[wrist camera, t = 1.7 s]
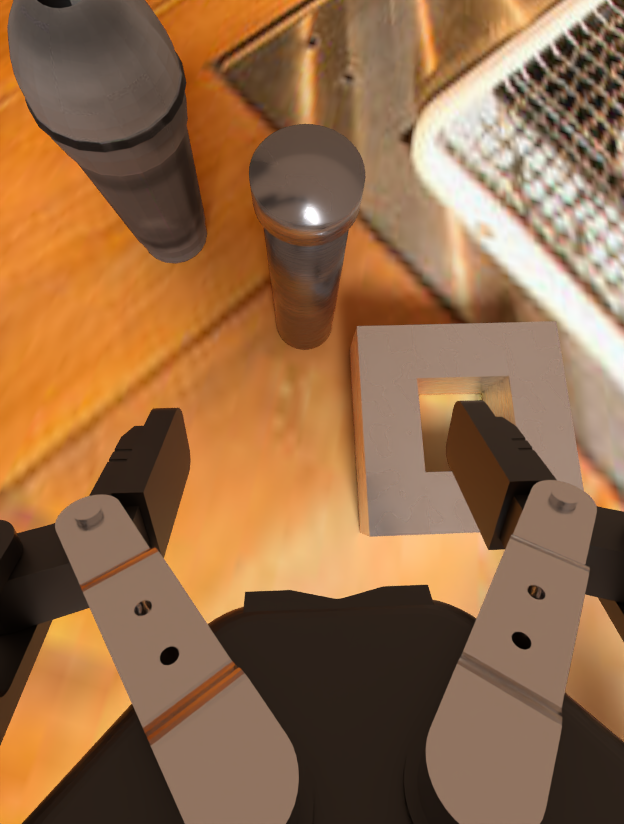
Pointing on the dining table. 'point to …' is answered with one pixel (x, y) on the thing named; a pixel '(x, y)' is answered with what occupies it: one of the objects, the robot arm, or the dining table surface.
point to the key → (306, 223)
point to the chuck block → (449, 374)
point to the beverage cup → (115, 111)
